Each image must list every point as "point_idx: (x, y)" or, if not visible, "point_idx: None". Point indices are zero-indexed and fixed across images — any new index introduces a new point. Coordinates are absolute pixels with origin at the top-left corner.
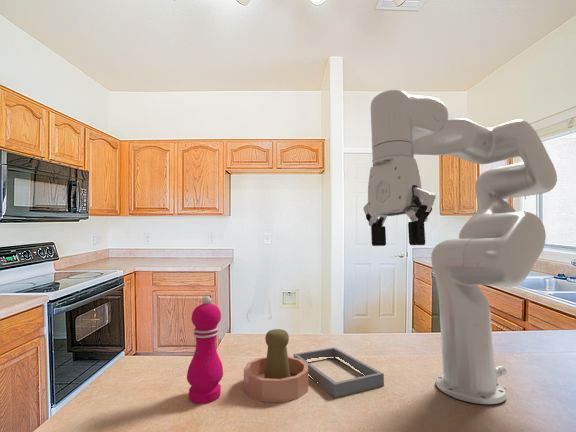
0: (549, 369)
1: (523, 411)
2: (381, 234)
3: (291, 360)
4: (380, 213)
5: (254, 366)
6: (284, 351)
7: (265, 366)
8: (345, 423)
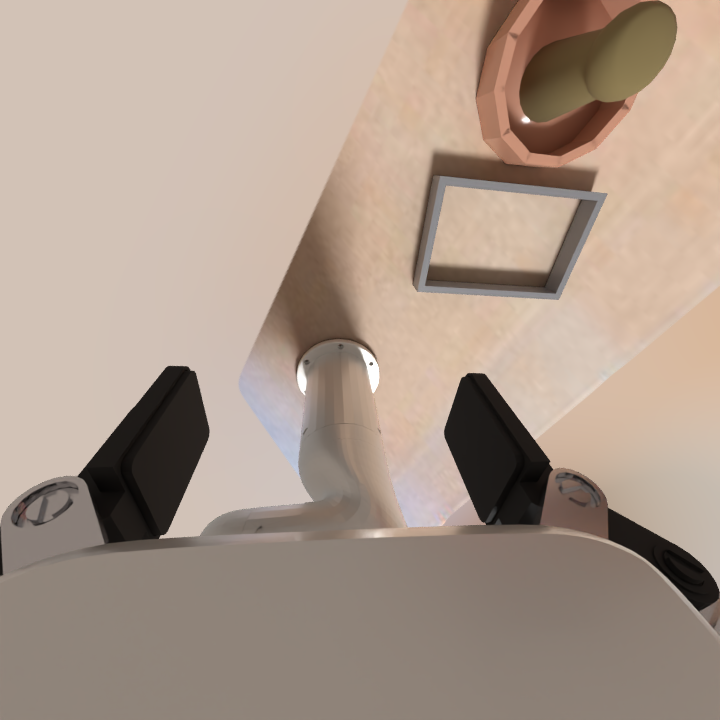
0: None
1: (275, 377)
2: (471, 458)
3: (575, 147)
4: (415, 529)
5: None
6: (575, 76)
7: None
8: (362, 130)
